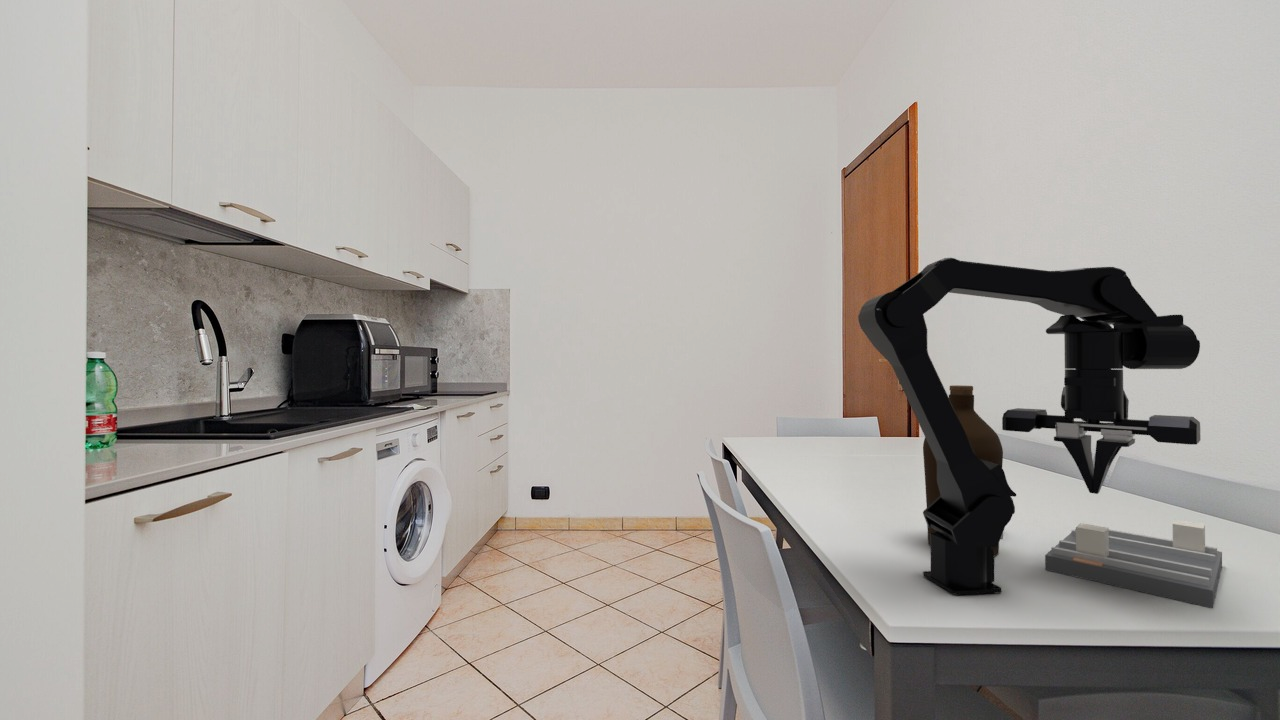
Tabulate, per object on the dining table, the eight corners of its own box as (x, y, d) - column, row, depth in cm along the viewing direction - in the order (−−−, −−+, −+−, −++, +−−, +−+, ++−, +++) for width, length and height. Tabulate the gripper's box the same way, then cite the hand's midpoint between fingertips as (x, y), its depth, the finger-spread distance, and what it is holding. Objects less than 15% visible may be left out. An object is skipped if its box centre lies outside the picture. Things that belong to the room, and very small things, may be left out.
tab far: (1203, 556, 74) (1203, 528, 75) (1172, 550, 77) (1172, 523, 77) (1205, 551, 76) (1204, 524, 77) (1175, 545, 79) (1174, 519, 79)
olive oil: (988, 566, 77) (986, 387, 78) (911, 546, 85) (910, 385, 86) (1014, 549, 84) (1012, 385, 84) (940, 533, 92) (939, 384, 92)
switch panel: (1212, 608, 64) (1212, 583, 64) (1045, 569, 76) (1045, 549, 76) (1222, 566, 77) (1221, 546, 77) (1078, 539, 89) (1078, 521, 89)
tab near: (1104, 560, 73) (1104, 532, 73) (1076, 554, 75) (1075, 527, 75) (1108, 554, 75) (1108, 527, 75) (1081, 549, 77) (1080, 522, 77)
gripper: (1203, 369, 68) (1204, 496, 68) (1024, 368, 82) (1025, 473, 82) (1195, 370, 61) (1197, 512, 61) (1000, 369, 75) (1001, 484, 75)
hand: (1094, 492), depth 70 cm, fingers closed
